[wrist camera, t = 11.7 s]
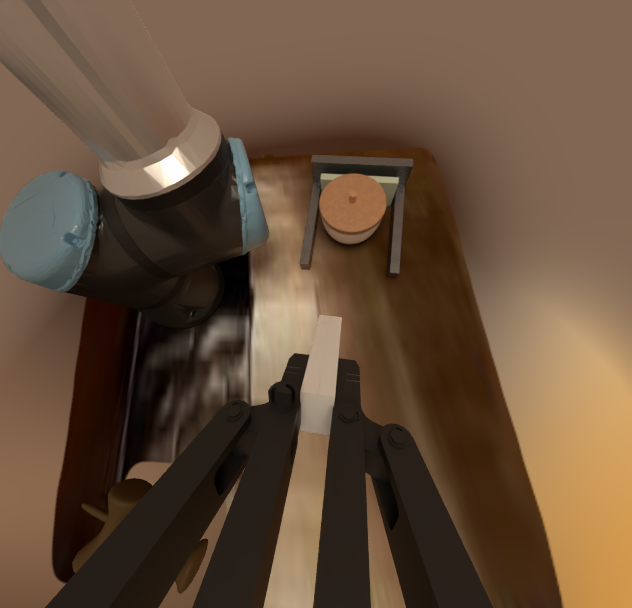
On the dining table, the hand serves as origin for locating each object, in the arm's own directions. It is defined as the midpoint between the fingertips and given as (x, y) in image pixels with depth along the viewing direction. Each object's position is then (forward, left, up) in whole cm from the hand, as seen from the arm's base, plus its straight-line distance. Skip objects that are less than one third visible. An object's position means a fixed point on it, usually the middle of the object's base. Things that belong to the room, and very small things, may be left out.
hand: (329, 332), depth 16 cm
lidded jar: (0, +23, -24) cm, 33 cm away
